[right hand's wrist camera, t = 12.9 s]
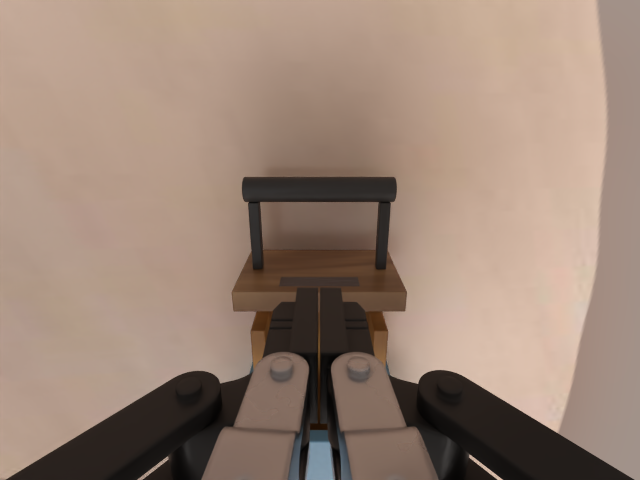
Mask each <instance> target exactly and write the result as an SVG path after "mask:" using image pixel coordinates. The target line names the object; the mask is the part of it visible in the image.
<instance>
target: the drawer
mask: <svg viewBox="0 0 640 480" xmlns="http://www.w3.org/2000/svg"><path fill="white" fill-rule="evenodd" d="M396 192H397V184H396V179H395V177H244V178H243V182H242V195H243V199H244V201H245V202H249V203H248V208H249V222H250V236H251V250H252V251H251V253H250V255H249V257H248V259H247V261H246V263H245V265H244V268H243V270H242V272H241V274H240V276H239V278H238V280H237V282H236V284H235V286H234V288H233V291H232V300H233V310H234V311H257V312H256V316H255V319H254V322H253V325H252V328H251V343H252V356H253V369H254V368H255V366H256V364H257V363H258V362H259V361H260V360H261V359H262V357H263V353H264V348H265V344H266V340H267V335H268V331H269V327H270V322H271V318H272V314H273V310H274V309H275V308H276V307H277V306H278V305H279V304H280V303H281V302H295V300H296V292H297V287H318V423H310V430H328V427H327V424H320V287H341V291H342V300H343V302H357V303H358V304H359V305H360V306H361V307H362V308H363V309H364V310H365V313H366V318H367V322H368V327H369V332H370V336H371V341H372V345H373V350H374V354H375V357H376V358H378V359H379V360H380V361H381V362H382V363H383V364H384V366H386V353H387V339H388V329H387V326H386V323H385V319H384V316H383V313H382V311H405V308H406V297H407V291H406V289H405V287H404V285H403V283H402V281H401V278H400V276H399V274H398V272H397V270H396V268H395V266H394V264H393V261H392V259H391V257H390V255H389V253H388V251H387V249H388V234H389V220H390V205H391V203H390V202H394V201H395V198H396ZM260 202H379V204H378V221H377V239H376V250H263V242H262V225H261V208H260Z"/></svg>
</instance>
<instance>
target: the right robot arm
mask: <svg viewBox="0 0 640 480" xmlns="http://www.w3.org/2000/svg"><path fill="white" fill-rule="evenodd" d="M310 423H318V287H297V292H296V300H295V302H281V303H280V304H279V305H278V306H277V307H276V308H275V309H274V310H273V314H272V318H271V322H270V327H269V331H268V335H267V340H266V344H265V348H264V353H263V357H262V359H261V360H260V361H259V362H258V363H257V364H256V366H255V368H254V371H253V372H252V373H250V374H249V375H247V376H245V377H243V378H240V379H237V380H234V381H229V382H225V383H221V384H220V382H219V380H218V378H217V377H216V376H215V375H213V374H211V373H209V372H205V371H193V372H187V373H184V374H181V375H179V376H177V377H175V378H173V379H171V380H170V381H168V382H166V383H165V384H163V385H161V386H160V387H158V388H157V389H155V390H153V391H152V392H150V393H148V394H147V395H145V396H143V397H142V398H140V399H138V400H137V401H135V402H133V403H132V404H130V405H128V406H127V407H125V408H123V409H122V410H120V411H119V412H117V413H115V414H114V415H112V416H110V417H109V418H107V419H105V420H104V421H102V422H100V423H99V424H97V425H95V426H94V427H92V428H90V429H89V430H87V431H85V432H84V433H82V434H81V435H79V436H77V437H76V438H74V439H72V440H71V441H69V442H67V443H66V444H64V445H62V446H61V447H59V448H57V449H56V450H54V451H52V452H51V453H49V454H47V455H46V456H44V457H43V458H41V459H39V460H38V461H36V462H34V463H33V464H31V465H29V466H28V467H26V468H24V469H23V470H21V471H19V472H18V473H16V474H14V475H13V476H11V477H9V478H8V479H6V480H137V479H138V478H140V477H141V476H142V475H144V474H145V473H146V472H148V471H149V470H150V469H151V468H153V467H154V466H155V465H157V464H158V463H159V462H161V461H162V460H163V459H164V458H166V457H167V456H168V458H169V460H167V461H166V462H165V463H164V464H162V465H161V466H160V467H158V468H157V469H156V470H155V471H153V472H152V473H151V474H149V475H148V476H147V477H146V478H144V479H143V480H307V473H308V464H309V455H310ZM320 424H327V427H328V440H329V443H330V455H331V464H332V473H333V480H497V479H496V478H494V477H493V476H492V475H491V474H489V473H488V472H487V471H485V470H484V469H483V468H482V467H480V466H479V465H478V464H476V463H475V462H474V461H473V460H471V459H470V458H469V454H470V455H472V456H473V457H474V458H476V459H477V460H478V461H479V462H481V463H482V464H483V465H485V466H486V467H487V468H489V469H490V470H491V471H492V472H494V473H495V474H496V475H498V476H499V477H500V478H502V479H503V480H634V479H632V478H631V477H629V476H627V475H626V474H624V473H622V472H621V471H619V470H617V469H616V468H614V467H612V466H611V465H609V464H607V463H606V462H604V461H602V460H601V459H599V458H597V457H596V456H594V455H592V454H591V453H589V452H588V451H586V450H584V449H583V448H581V447H579V446H578V445H576V444H574V443H573V442H571V441H569V440H568V439H566V438H564V437H563V436H561V435H559V434H558V433H556V432H555V431H553V430H551V429H550V428H548V427H546V426H545V425H543V424H541V423H540V422H538V421H536V420H535V419H533V418H531V417H530V416H528V415H526V414H525V413H523V412H521V411H520V410H518V409H517V408H515V407H513V406H512V405H510V404H508V403H507V402H505V401H503V400H502V399H500V398H498V397H497V396H495V395H493V394H492V393H490V392H488V391H487V390H485V389H483V388H482V387H480V386H478V385H477V384H475V383H474V382H472V381H470V380H469V379H467V378H465V377H463V376H462V375H459V374H457V373H454V372H450V371H445V370H435V371H430V372H428V373H426V374H424V375H423V376H422V377H421V378H420V380H419V384H416V383H411V382H407V381H403V380H400V379H397V378H394V377H392V376H390V375H388V374H387V371H386V368H385V366H384V364H383V363H382V362H381V361H380V360H379V359H378V358H376V357H375V354H374V350H373V345H372V341H371V336H370V332H369V327H368V322H367V318H366V313H365V310H364V309H363V308H362V307H361V306H360V305H359V304H358V303H357V302H343V300H342V291H341V287H320Z"/></svg>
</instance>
